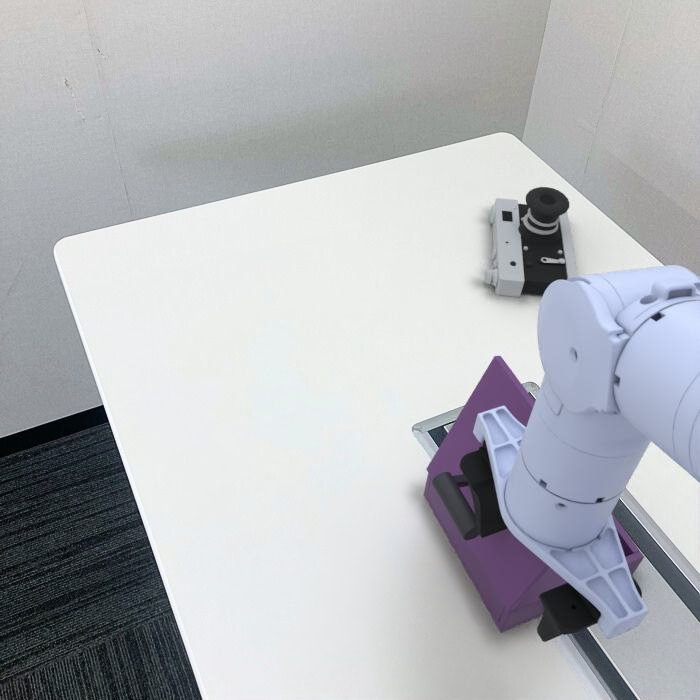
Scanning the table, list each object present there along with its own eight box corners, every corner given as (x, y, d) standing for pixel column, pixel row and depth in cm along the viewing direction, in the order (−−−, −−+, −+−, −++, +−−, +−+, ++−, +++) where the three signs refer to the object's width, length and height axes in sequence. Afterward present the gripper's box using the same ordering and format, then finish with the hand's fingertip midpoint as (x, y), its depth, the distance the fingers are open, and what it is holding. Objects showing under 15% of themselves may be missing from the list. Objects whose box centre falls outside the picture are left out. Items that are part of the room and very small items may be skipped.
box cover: (500, 355, 55) (452, 357, 53) (608, 500, 47) (557, 510, 45) (431, 468, 63) (387, 474, 61) (513, 609, 55) (466, 622, 53)
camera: (590, 253, 79) (495, 243, 79) (573, 302, 84) (483, 293, 84) (576, 171, 89) (491, 163, 90) (561, 219, 94) (481, 211, 95)
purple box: (541, 453, 69) (551, 429, 67) (630, 578, 61) (644, 557, 58) (423, 494, 66) (428, 471, 63) (500, 633, 57) (509, 612, 55)
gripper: (730, 548, 36) (639, 658, 46) (561, 344, 45) (516, 473, 55) (610, 600, 34) (542, 703, 44) (458, 375, 43) (430, 503, 53)
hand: (521, 578), depth 49 cm, fingers open, 7 cm apart
